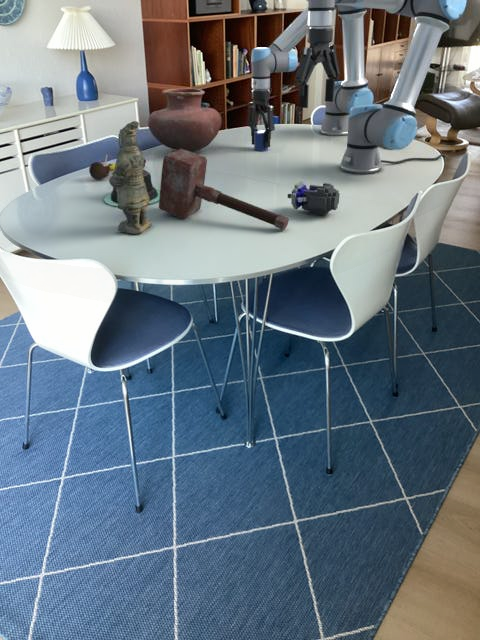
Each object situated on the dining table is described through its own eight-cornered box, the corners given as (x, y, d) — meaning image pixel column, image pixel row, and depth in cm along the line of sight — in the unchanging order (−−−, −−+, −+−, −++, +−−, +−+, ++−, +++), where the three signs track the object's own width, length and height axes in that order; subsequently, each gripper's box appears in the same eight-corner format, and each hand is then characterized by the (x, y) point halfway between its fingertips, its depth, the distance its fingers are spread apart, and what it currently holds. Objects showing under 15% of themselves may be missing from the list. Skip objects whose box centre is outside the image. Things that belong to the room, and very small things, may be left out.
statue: (131, 220, 168) (117, 116, 152) (158, 224, 164) (147, 118, 149) (109, 233, 159) (93, 124, 144) (138, 237, 156) (124, 126, 140)
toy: (295, 178, 172) (342, 184, 166) (295, 205, 177) (340, 211, 171) (285, 186, 166) (333, 192, 160) (284, 213, 170) (331, 220, 164)
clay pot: (228, 143, 251) (226, 84, 239) (213, 161, 226) (210, 95, 213) (163, 142, 256) (158, 84, 243) (142, 159, 231) (135, 95, 218)
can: (268, 148, 244) (268, 130, 240) (267, 151, 239) (267, 133, 235) (254, 147, 244) (254, 130, 241) (253, 151, 239) (253, 133, 236)
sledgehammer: (299, 190, 156) (179, 147, 167) (285, 200, 148) (161, 154, 160) (286, 244, 166) (174, 200, 177) (272, 256, 158) (156, 209, 170)
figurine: (152, 155, 217) (104, 161, 197) (152, 175, 220) (105, 183, 201) (127, 151, 223) (79, 157, 204) (128, 170, 226) (80, 177, 207)
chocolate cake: (91, 202, 180) (113, 186, 197) (142, 231, 182) (160, 212, 199) (107, 162, 172) (129, 148, 190) (160, 192, 174) (177, 176, 192)
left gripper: (238, 87, 234) (239, 143, 246) (270, 92, 220) (270, 151, 232) (251, 85, 238) (252, 140, 250) (284, 90, 224) (283, 148, 236)
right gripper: (333, 25, 172) (329, 97, 183) (283, 29, 157) (282, 108, 167) (354, 25, 168) (348, 100, 179) (304, 30, 152) (302, 111, 163)
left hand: (260, 145), depth 241 cm, fingers open, 8 cm apart
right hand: (316, 104), depth 173 cm, fingers open, 13 cm apart
